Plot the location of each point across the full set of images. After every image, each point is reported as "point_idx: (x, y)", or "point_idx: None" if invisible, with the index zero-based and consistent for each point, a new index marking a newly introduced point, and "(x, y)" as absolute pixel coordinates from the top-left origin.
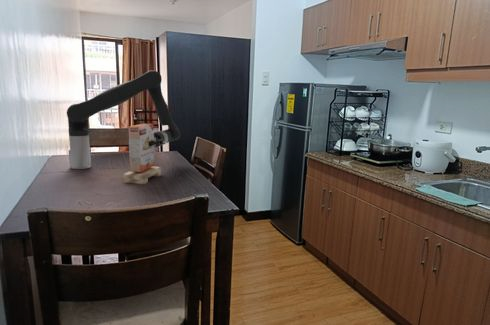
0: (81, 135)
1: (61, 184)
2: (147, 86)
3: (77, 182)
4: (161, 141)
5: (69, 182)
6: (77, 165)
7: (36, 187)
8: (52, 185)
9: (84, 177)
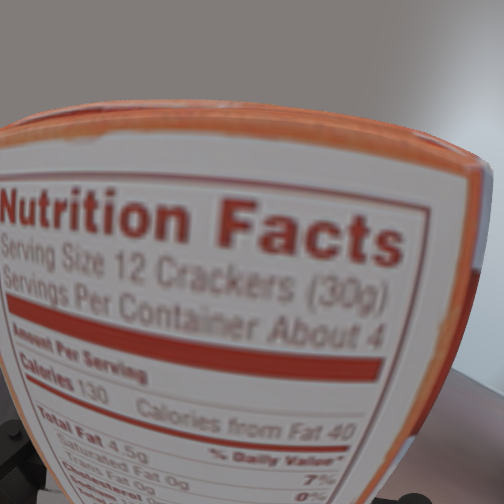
0: None
1: (443, 406)
2: None
3: (431, 430)
4: None
5: (447, 423)
6: None
7: (456, 379)
8: (450, 396)
9: (469, 471)
